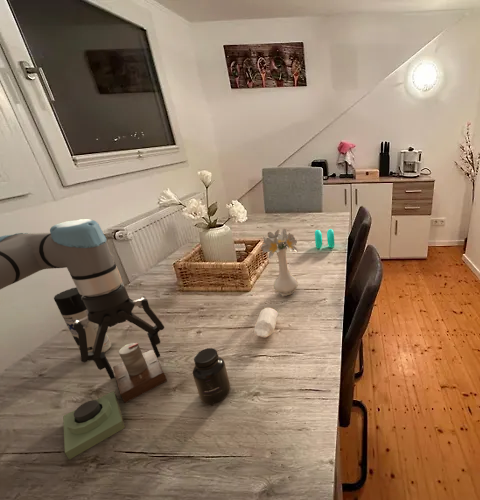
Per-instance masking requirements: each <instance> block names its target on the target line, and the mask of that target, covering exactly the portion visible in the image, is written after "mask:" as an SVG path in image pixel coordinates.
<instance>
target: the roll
mask: <svg viewBox="0 0 480 500" xmlns="http://www.w3.org/2000/svg"><path fill="white" fill-rule="evenodd" d="M278 317H279V313H278V310H276V309H275V308H272V307H265V308H262V309H261V310H260V312H259V315H258V317H257V320H256V322H255V325H254V329H253V334H254V335H255V336H256V337H261V338H268V337H269V336H271V335H273V334H274V333H275V329H276V324H277V322H278Z"/></svg>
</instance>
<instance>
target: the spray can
mask: <svg viewBox="0 0 480 500" xmlns="http://www.w3.org/2000/svg"><path fill="white" fill-rule="evenodd" d="M81 297H82V295H81V294H79V292H78V290H77V288H76V287H72V288H69V289H66V290H63V291H61V292H59V293H57V294H55V295H54V296H53V300H54V302H55V305H56V306H57V309H58V311H59V312H60V314H61V316H62V319H63V320H64V323H65V324H66V326H67V328H68V330H69V332H70V334H71V336H72V338H73V340H74V341H75V344H76V345H77V348H78V349H79V350H80V346H79V337H78V333H77V332H76V330H75V329H74V327H73V321H74V320H75V319H79V320H80V319H82V318H85V317H87V316H88V310H87V308H86V306H85V304H84V302H83V300H82V298H81ZM98 325H99V324H96V323H93V322H91V321H90V322H89V323H88V327H87V328H85V331H86V339H87V348H88V353H89V352H92V351H93V347H94V343H95V339H96V335H97V331H98ZM111 347H112V342H111V340H110V336H108V333H107V332H106V335H105V339H104V343H103V347H102V351H101V352H104V354H105V353H107V352H108V351H109V350H110V349H111Z"/></svg>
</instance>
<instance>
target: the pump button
mask: <svg viewBox="0 0 480 500" xmlns="http://www.w3.org/2000/svg"><path fill="white" fill-rule="evenodd" d="M100 411H101V406H100V405H99V403H98V401H96V399H92V400H88V401H86V402H84V403H82V404H81V405H79V406H78V407H77V408H76V409H75V412H74V417H75V419H76V420H77V422H79V423H83V422H87V421H88V420H90V419H92V418H94V417H95V416H96V415H97V414H98V413H99V412H100Z"/></svg>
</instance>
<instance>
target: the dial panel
mask: <svg viewBox="0 0 480 500" xmlns="http://www.w3.org/2000/svg"><path fill="white" fill-rule="evenodd" d="M142 354H143V357H144V359H145V361H146V364H147V368H146V369H145V370H144V371H143V372H141V373H140V374H137V375H129V374H128V372H127V369H126V367H125V365H124V363H123V362H120V363H119V364H116V365H114V366H112V370H113V372H114V376H115V380H116V382H117V387H118V391H119V394H120V397H121V399H122V401H123V403H124V404H126V403H128V402H130V401H132V400H134V399H136V398H138V397H140V396H141V395H143V394H145V393H147V392H149V391H151V390H152V389H155V388H156V387H159V386H160V385H161V384H164V383H166V382H167V381H168V379H167V377H166V374H165V372H164V370H163V367H162V365H161V362H160V361H159V358H157V356H156V354H155V352H154V350H153V348H152V349H149V350H147V351H145V352H142Z"/></svg>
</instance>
